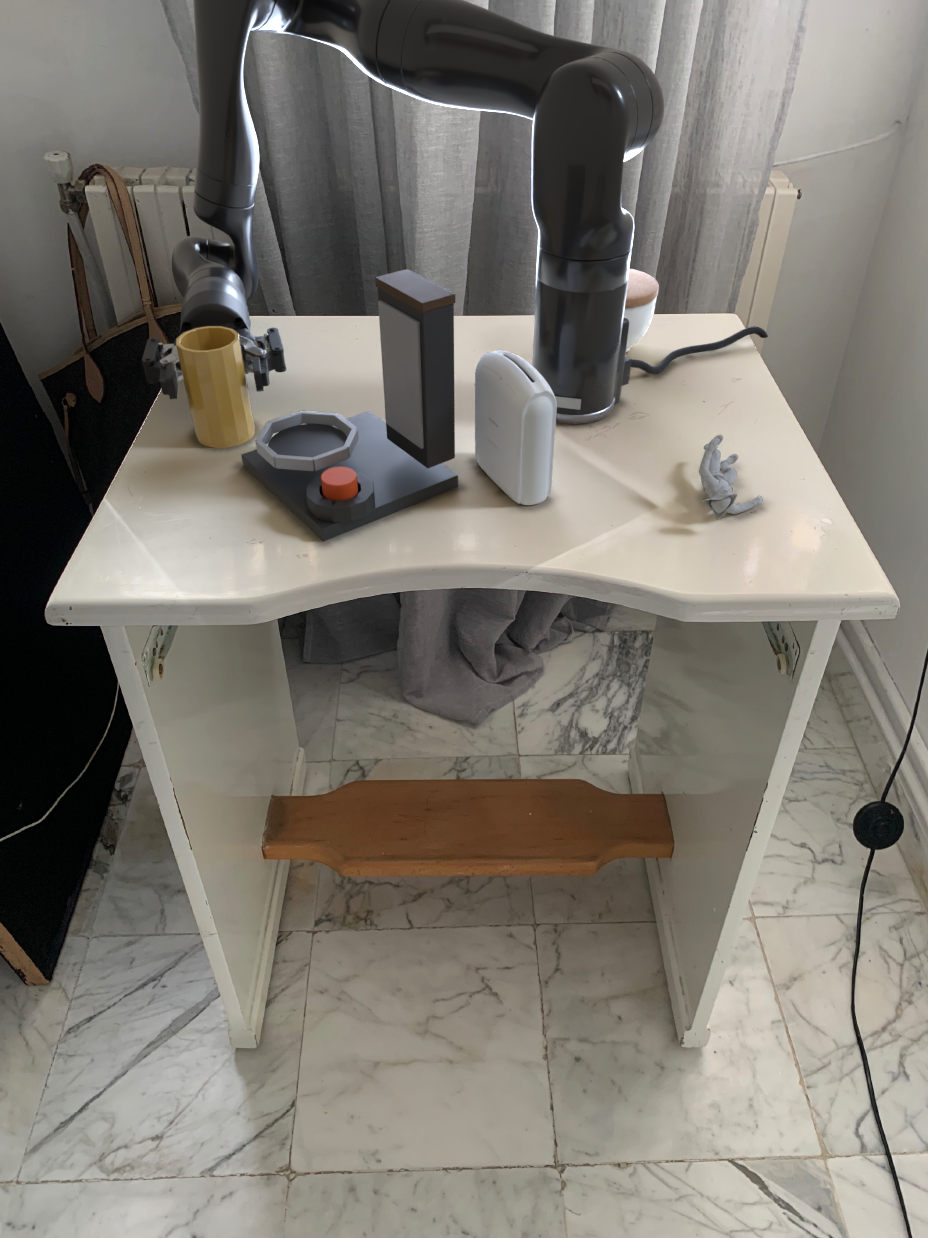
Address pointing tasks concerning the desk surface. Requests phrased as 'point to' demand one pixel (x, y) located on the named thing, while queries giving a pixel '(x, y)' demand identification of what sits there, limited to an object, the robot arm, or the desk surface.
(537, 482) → the photo printer
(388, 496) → the brewer base
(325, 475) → the button
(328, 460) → the coffee maker
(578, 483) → the desk surface
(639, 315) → the trinket box
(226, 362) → the cup
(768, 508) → the desk surface
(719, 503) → the soldier figure
